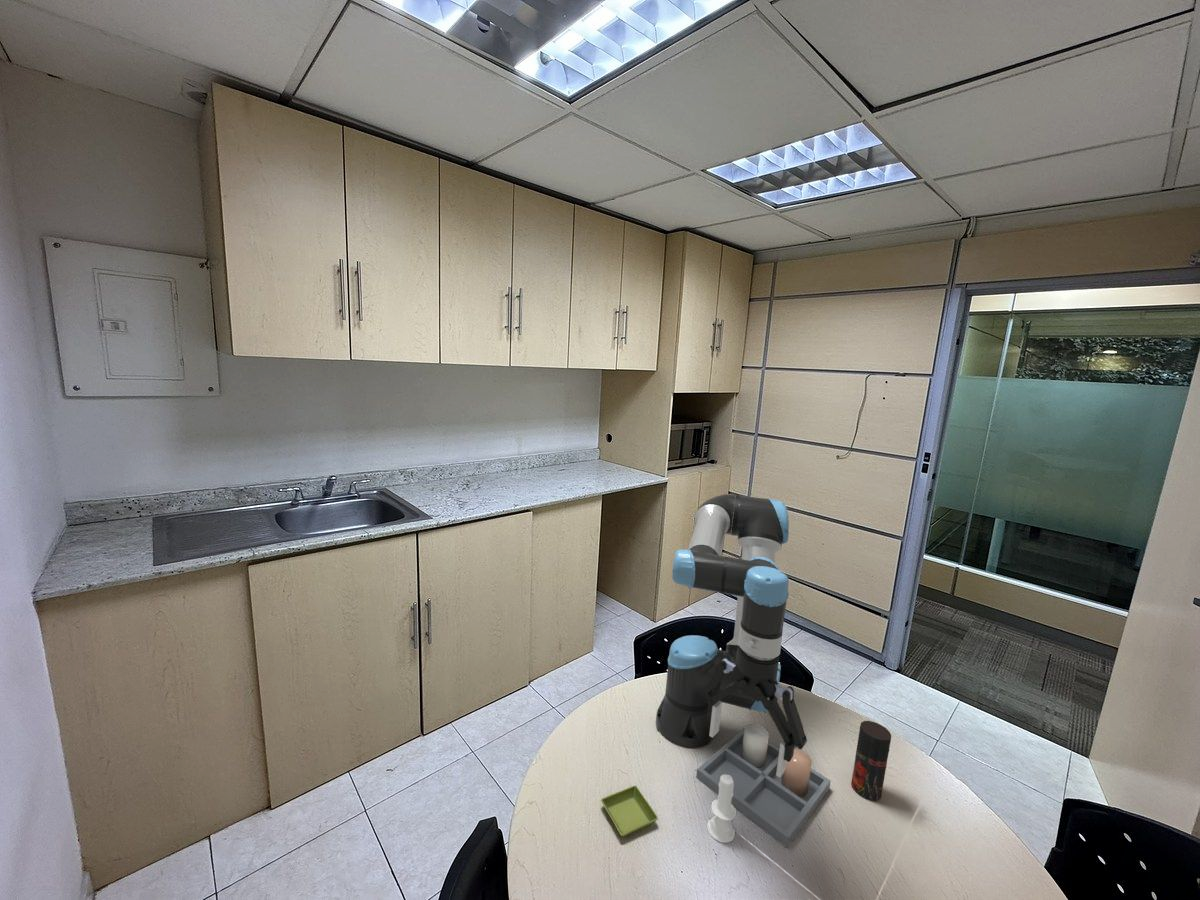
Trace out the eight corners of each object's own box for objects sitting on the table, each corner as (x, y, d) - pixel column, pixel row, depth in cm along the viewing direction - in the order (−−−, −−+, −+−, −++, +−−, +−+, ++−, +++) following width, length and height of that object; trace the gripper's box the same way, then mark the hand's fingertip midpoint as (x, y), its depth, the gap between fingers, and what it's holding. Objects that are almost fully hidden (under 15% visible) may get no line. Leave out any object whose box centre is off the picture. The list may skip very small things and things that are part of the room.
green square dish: (620, 845, 89) (621, 835, 89) (599, 807, 97) (599, 798, 96) (658, 827, 93) (659, 818, 93) (635, 793, 101) (635, 784, 100)
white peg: (716, 813, 97) (722, 761, 95) (739, 831, 93) (746, 777, 92) (701, 829, 93) (708, 774, 92) (725, 848, 89) (732, 792, 88)
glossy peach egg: (776, 784, 105) (780, 756, 104) (787, 771, 109) (791, 744, 108) (801, 801, 101) (805, 771, 100) (811, 787, 105) (816, 759, 104)
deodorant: (885, 805, 102) (896, 742, 100) (855, 799, 103) (865, 737, 101) (875, 783, 107) (885, 723, 106) (847, 777, 109) (856, 718, 107)
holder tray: (696, 779, 105) (697, 769, 105) (743, 735, 120) (745, 727, 119) (786, 849, 90) (788, 838, 90) (829, 790, 105) (830, 780, 104)
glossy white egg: (736, 757, 112) (740, 730, 111) (748, 746, 116) (751, 720, 115) (758, 771, 108) (761, 744, 107) (769, 759, 112) (773, 733, 111)
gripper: (690, 631, 93) (680, 727, 96) (822, 690, 77) (805, 804, 80) (708, 618, 99) (698, 710, 102) (835, 671, 83) (819, 778, 86)
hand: (745, 752), depth 91 cm, fingers open, 13 cm apart
